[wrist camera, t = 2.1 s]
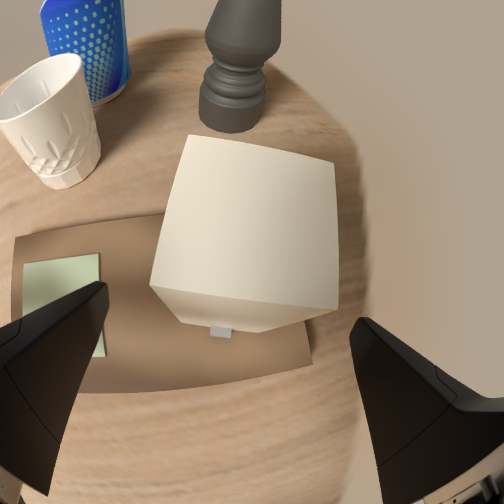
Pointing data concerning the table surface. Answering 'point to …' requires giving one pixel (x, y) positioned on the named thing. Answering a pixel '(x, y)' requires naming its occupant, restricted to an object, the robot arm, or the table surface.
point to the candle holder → (238, 62)
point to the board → (141, 313)
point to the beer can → (90, 41)
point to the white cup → (52, 120)
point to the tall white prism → (248, 238)
